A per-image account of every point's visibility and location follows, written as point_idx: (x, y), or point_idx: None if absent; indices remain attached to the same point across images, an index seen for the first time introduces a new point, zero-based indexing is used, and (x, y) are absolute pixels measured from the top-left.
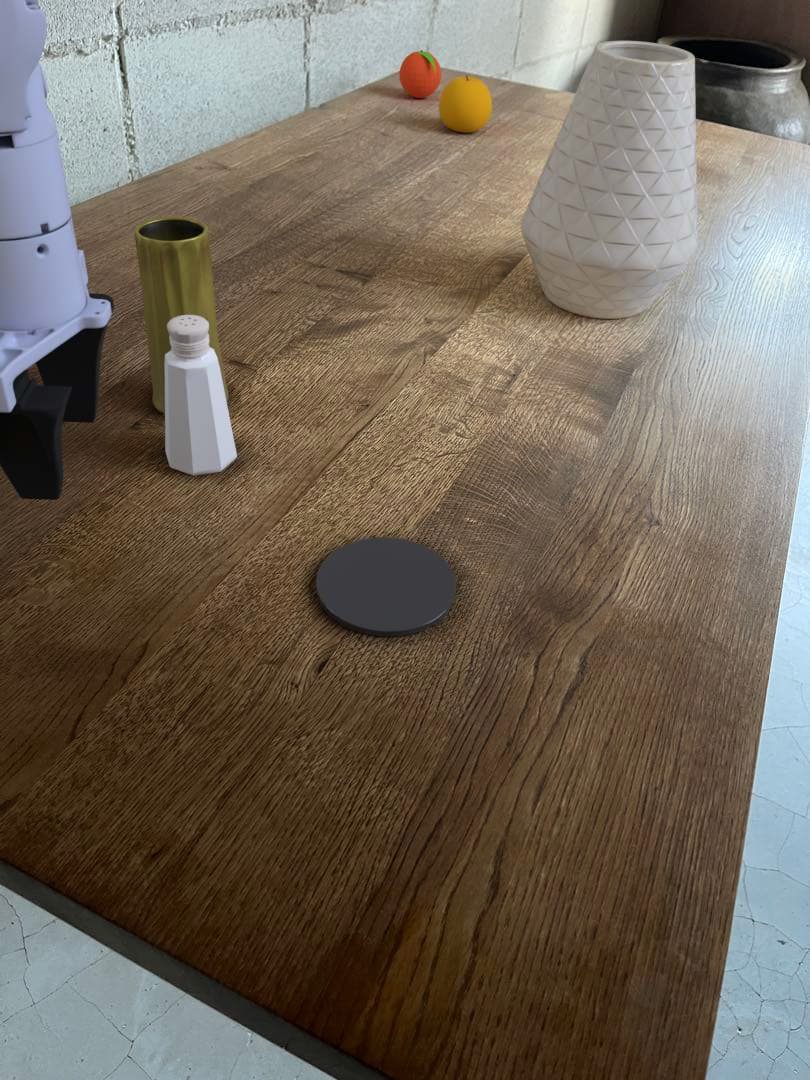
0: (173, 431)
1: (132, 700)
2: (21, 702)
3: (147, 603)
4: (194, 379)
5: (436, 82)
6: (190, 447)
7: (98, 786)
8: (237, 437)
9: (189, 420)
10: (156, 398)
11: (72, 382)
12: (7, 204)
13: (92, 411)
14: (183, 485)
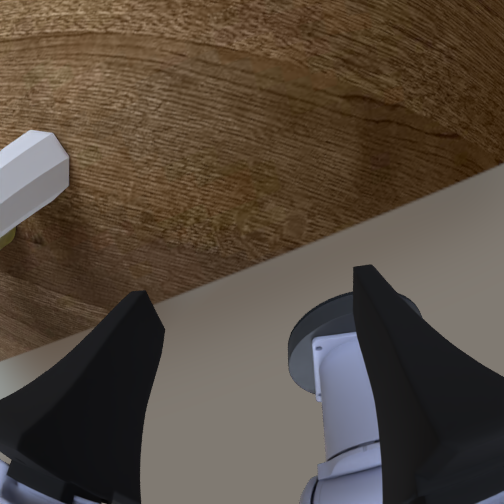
0: (40, 198)
1: (417, 93)
2: (423, 187)
3: (284, 115)
4: None
5: None
6: (47, 171)
7: (492, 105)
8: None
9: (24, 185)
10: (7, 240)
11: (128, 364)
12: None
13: (137, 303)
14: (85, 159)
